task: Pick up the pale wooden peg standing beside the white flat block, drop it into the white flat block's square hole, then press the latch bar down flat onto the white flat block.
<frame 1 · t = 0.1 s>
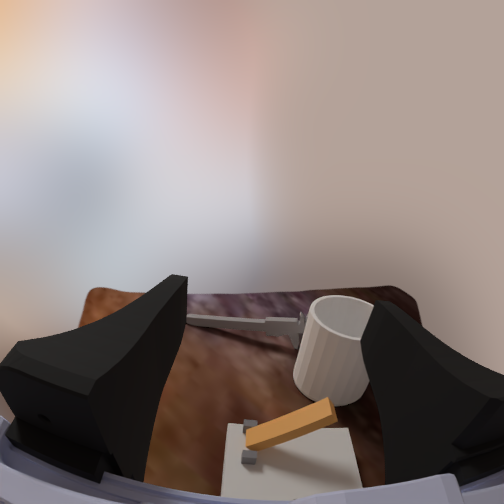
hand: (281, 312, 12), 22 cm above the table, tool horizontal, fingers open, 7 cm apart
white flat block: (287, 499, 21), on the table
latch: (289, 426, 23), point 6 cm above the table, hinge at 40.0°
mug: (338, 383, 38), on the table
caliper: (242, 337, 46), on the table
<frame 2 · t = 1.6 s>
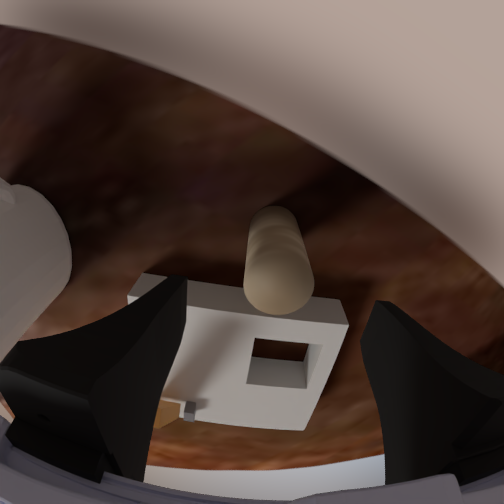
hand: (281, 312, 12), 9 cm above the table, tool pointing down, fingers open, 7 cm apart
white flat block: (232, 351, 24), on the table
latch: (157, 411, 18), point 6 cm above the table, hinge at 40.0°
peg: (273, 228, 20), on the table
mug: (28, 228, 20), on the table
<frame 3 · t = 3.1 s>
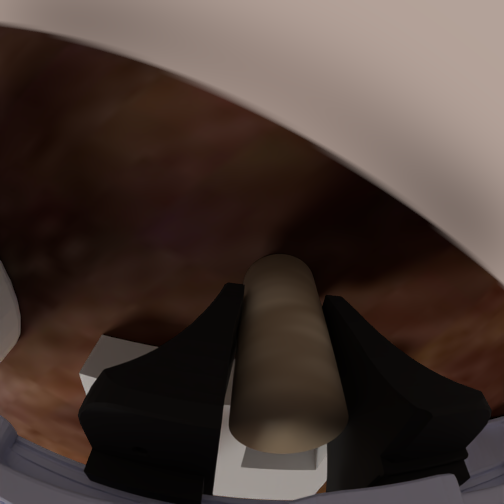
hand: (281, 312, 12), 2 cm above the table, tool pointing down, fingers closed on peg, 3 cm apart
white flat block: (223, 423, 18), on the table
peg: (278, 286, 13), on the table, touching gripper
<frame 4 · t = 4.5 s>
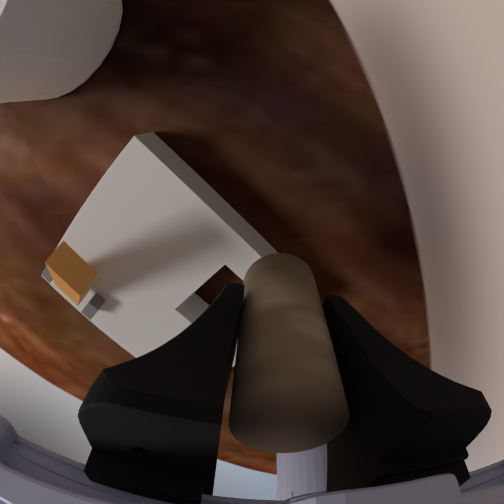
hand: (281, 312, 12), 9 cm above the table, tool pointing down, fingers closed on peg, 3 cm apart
white flat block: (173, 270, 21), on the table
latch: (71, 280, 14), point 6 cm above the table, hinge at 40.0°
peg: (279, 285, 13), point 7 cm above the table, touching gripper
mug: (75, 20, 14), on the table
when the fingers open (4 cm above the table, at t = 6.1 s): peg drops 2 cm, resting in white flat block.
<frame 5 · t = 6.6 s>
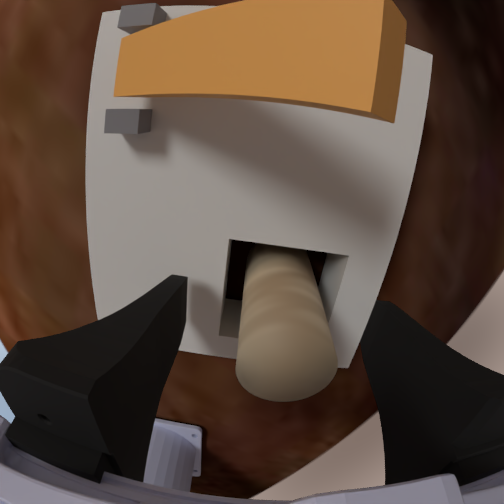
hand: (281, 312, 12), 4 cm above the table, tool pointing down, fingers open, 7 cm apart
white flat block: (244, 187, 14), on the table
latch: (214, 55, 6), point 6 cm above the table, hinge at 40.0°
peg: (277, 264, 15), resting in white flat block
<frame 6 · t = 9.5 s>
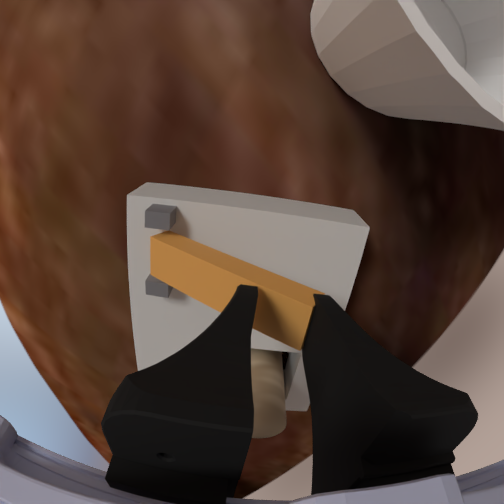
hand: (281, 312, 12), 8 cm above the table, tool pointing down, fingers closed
white flat block: (236, 300, 20), on the table
latch: (225, 283, 13), point 6 cm above the table, hinge at 30.9°, touching gripper
peg: (259, 344, 22), resting in white flat block
mug: (411, 49, 14), on the table
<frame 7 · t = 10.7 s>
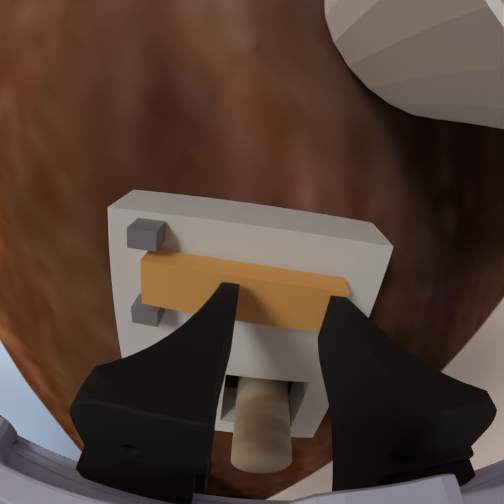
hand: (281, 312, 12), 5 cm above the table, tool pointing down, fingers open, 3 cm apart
white flat block: (236, 322, 18), on the table
latch: (242, 292, 12), point 4 cm above the table, hinge at 2.2°
peg: (262, 367, 19), resting in white flat block
mug: (437, 40, 11), on the table
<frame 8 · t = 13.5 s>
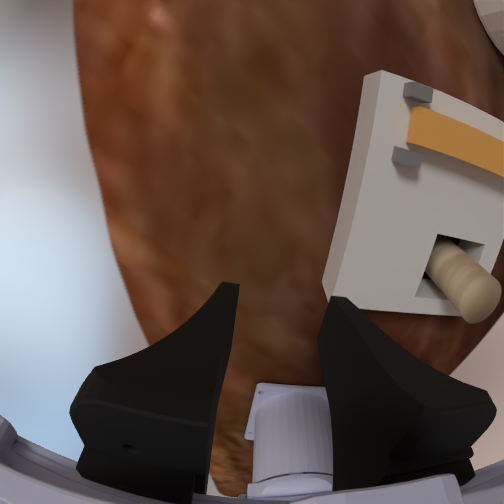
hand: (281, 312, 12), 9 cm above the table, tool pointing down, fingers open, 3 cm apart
white flat block: (424, 201, 19), on the table
latch: (471, 145, 14), point 4 cm above the table, hinge at 2.1°
peg: (432, 251, 20), resting in white flat block
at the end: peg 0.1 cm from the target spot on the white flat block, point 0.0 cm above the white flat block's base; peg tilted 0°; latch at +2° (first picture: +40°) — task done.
